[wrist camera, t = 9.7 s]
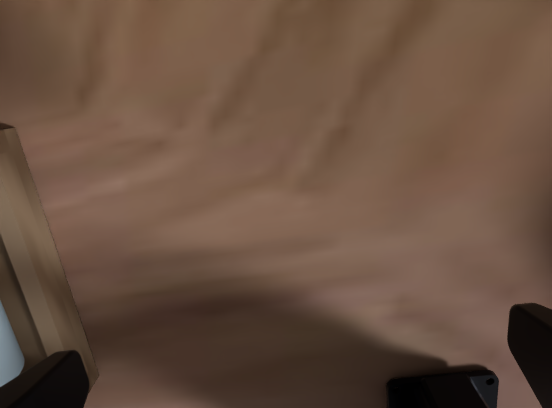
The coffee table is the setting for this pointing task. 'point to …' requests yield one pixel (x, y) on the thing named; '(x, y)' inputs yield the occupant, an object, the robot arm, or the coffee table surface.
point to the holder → (33, 268)
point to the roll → (8, 351)
